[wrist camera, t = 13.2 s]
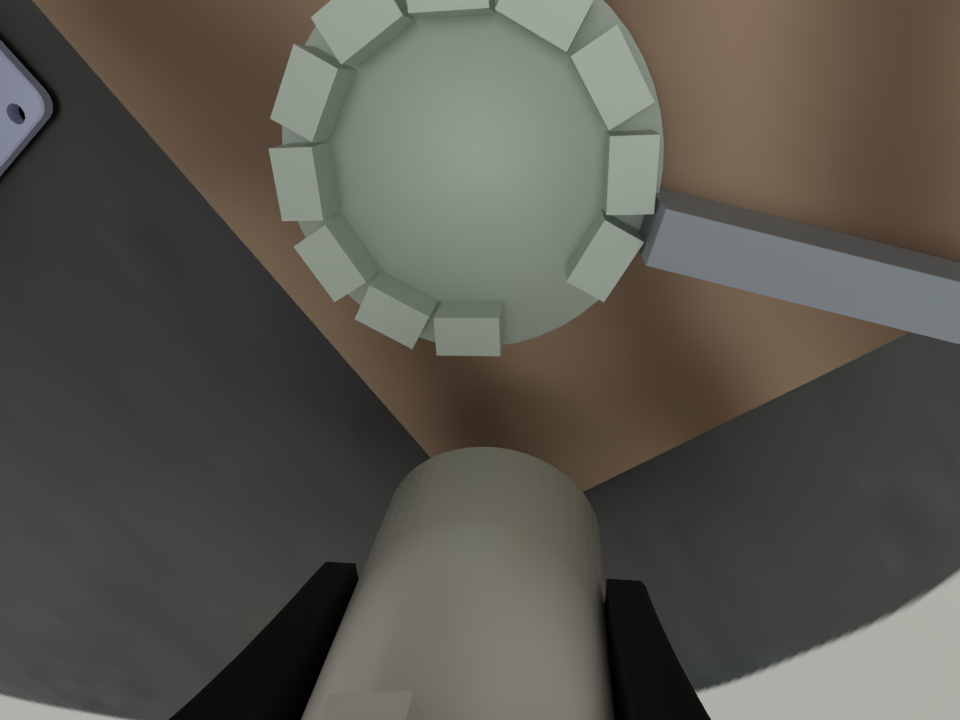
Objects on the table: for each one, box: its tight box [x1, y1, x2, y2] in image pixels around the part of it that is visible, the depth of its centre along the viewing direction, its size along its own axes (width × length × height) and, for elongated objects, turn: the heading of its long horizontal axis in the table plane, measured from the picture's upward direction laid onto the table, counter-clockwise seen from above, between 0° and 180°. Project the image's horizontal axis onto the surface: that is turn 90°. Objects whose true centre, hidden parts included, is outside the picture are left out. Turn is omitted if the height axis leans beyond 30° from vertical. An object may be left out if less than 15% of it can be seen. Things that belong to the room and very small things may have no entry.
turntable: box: [268, 0, 960, 356], centre depth 13 cm, size 14×14×3 cm
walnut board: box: [32, 0, 960, 492], centre depth 14 cm, size 18×20×1 cm
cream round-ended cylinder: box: [301, 447, 615, 720], centre depth 10 cm, size 8×5×7 cm, turn 12°
